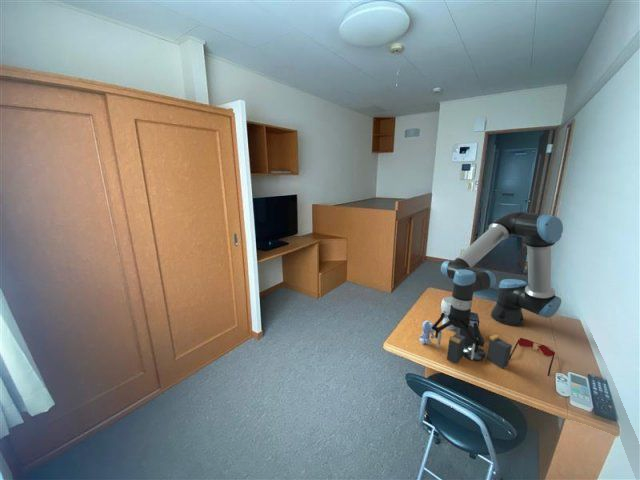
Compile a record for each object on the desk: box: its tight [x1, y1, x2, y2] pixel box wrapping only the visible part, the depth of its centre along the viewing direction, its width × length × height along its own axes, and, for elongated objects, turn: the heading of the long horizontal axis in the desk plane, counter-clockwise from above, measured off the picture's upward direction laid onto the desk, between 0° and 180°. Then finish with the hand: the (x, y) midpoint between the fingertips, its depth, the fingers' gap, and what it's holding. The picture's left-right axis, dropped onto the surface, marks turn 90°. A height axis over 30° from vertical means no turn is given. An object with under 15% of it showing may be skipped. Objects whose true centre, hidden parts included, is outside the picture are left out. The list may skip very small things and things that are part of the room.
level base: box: [462, 343, 486, 363], centre depth 120 cm, size 10×10×4 cm
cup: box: [440, 296, 457, 331], centre depth 142 cm, size 11×11×15 cm
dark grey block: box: [446, 333, 466, 365], centre depth 117 cm, size 7×4×11 cm, turn 131°
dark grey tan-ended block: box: [485, 333, 513, 369], centre depth 114 cm, size 7×4×11 cm, turn 26°
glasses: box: [509, 337, 556, 377], centre depth 118 cm, size 14×16×5 cm
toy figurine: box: [419, 320, 436, 345], centre depth 128 cm, size 7×6×12 cm
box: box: [470, 311, 480, 339], centre depth 135 cm, size 8×6×11 cm
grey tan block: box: [455, 324, 476, 344], centre depth 129 cm, size 7×4×11 cm, turn 81°
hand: (454, 351), depth 115 cm, fingers open, 13 cm apart
